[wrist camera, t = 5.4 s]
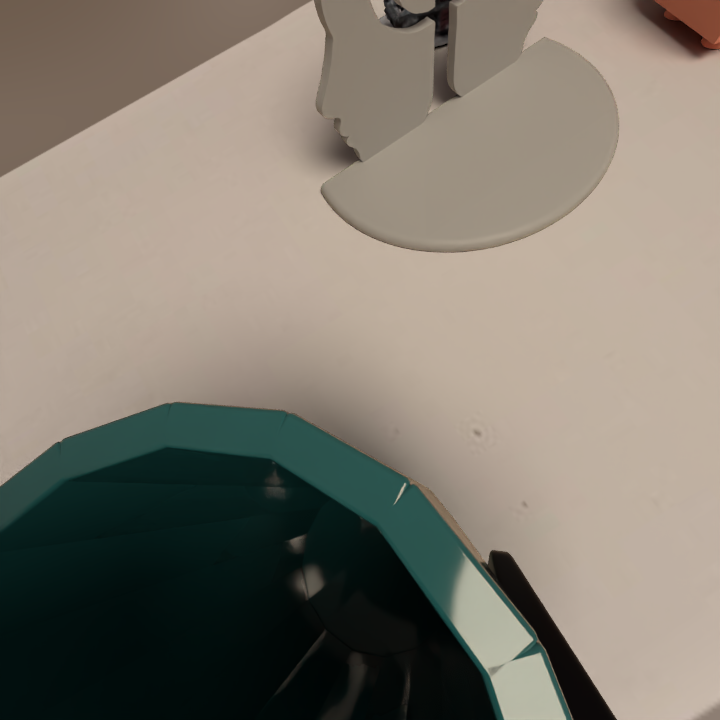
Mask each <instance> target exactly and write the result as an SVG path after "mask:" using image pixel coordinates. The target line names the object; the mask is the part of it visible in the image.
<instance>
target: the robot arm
mask: <svg viewBox="0 0 720 720" xmlns="http://www.w3.org/2000/svg"><path fill="white" fill-rule="evenodd" d="M488 566H489V568H490V569H491V571H492V572H493V573H494V575H495V576H496V577H497V579H498V580H499V582H500V583H501V584H502V586H503V587H504V589H505V590H506V591H507V593H508V594H509V596H510V597H511V598H512V600H513V601H514V602H515V604H516V605H517V607H518V608H519V609H520V611H521V612H522V614H523V615H524V616H525V618H526V619H527V620H528V622H529V623H530V625H531V626H532V627H533V629H534V630H535V632H536V635H537V637H538V639H539V641H540V642H541V643H542V645H543V646H544V648H545V649H546V652H547V654H548V657H549V659H550V662H551V664H552V667H553V669H554V672H555V675H556V677H557V680H558V682H559V685H560V687H561V690H562V692H563V695H564V697H565V700H566V702H567V705H568V708H569V710H570V713H571V715H572V718H573V720H617V719H616V718H615V716H614V715H613V713H612V711H611V710H610V708H609V707H608V705H607V704H606V702H605V701H604V699H603V697H602V696H601V694H600V693H599V691H598V690H597V688H596V687H595V685H594V683H593V682H592V680H591V679H590V677H589V676H588V674H587V672H586V671H585V669H584V668H583V666H582V665H581V663H580V662H579V660H578V658H577V657H576V655H575V654H574V652H573V651H572V649H571V648H570V646H569V644H568V643H567V641H566V640H565V638H564V637H563V635H562V634H561V632H560V630H559V629H558V627H557V626H556V624H555V623H554V621H553V620H552V618H551V616H550V615H549V613H548V612H547V610H546V609H545V607H544V606H543V604H542V602H541V601H540V599H539V598H538V596H537V595H536V593H535V592H534V590H533V588H532V587H531V585H530V584H529V582H528V581H527V579H526V578H525V576H524V574H523V573H522V571H521V570H520V568H519V567H518V565H517V564H516V562H515V560H514V559H513V557H512V556H511V555H510V554H509V553H508V552H503V551H496V550H492V551H491V552H490V555H489V561H488Z"/></svg>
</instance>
